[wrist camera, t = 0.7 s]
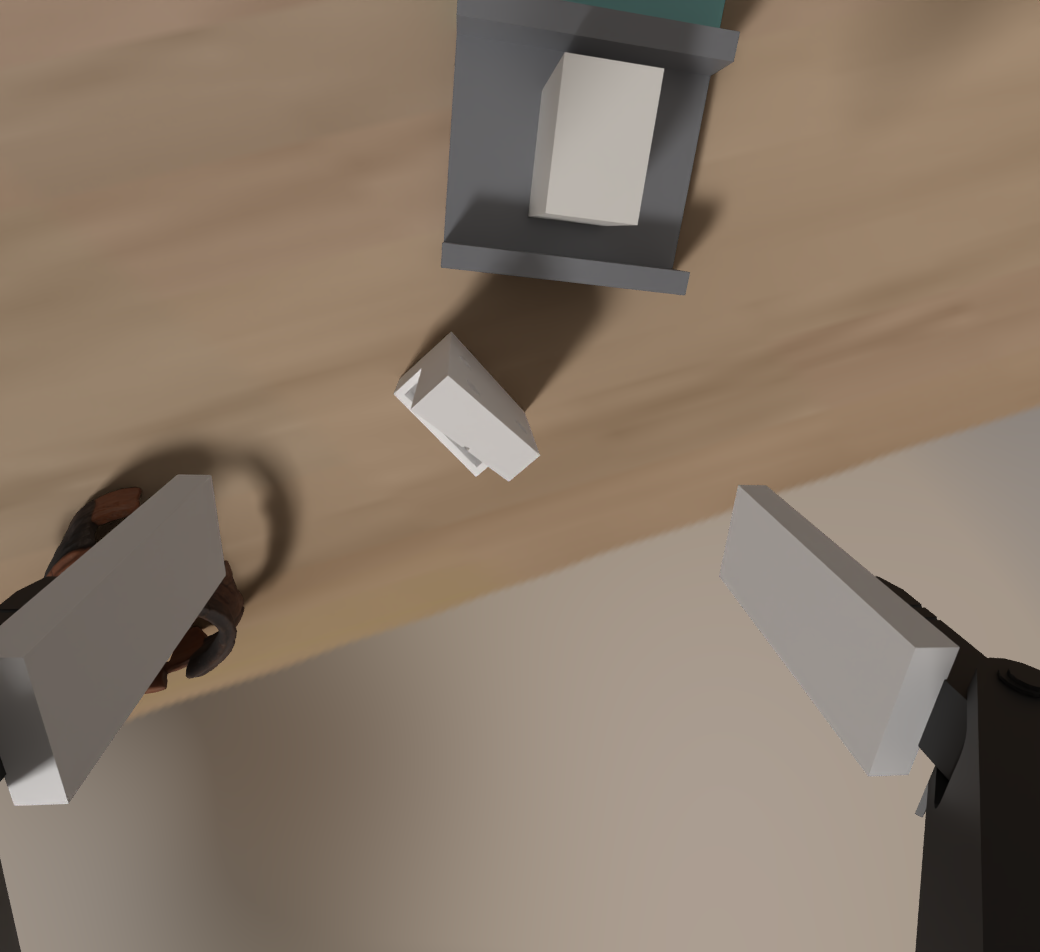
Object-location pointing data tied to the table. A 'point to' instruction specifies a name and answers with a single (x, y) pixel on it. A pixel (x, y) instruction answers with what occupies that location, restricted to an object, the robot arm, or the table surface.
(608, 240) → the two-compartment cubby shelf
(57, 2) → the table surface
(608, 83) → the white rectangular block
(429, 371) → the white wedge bracket
